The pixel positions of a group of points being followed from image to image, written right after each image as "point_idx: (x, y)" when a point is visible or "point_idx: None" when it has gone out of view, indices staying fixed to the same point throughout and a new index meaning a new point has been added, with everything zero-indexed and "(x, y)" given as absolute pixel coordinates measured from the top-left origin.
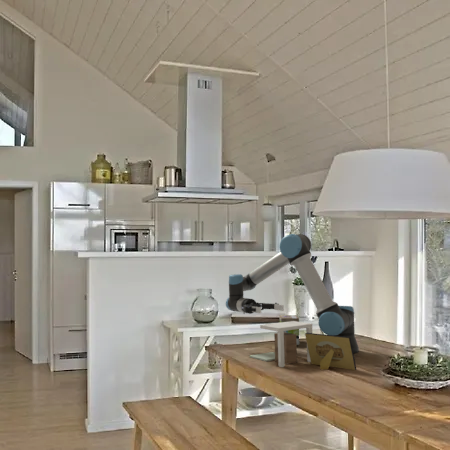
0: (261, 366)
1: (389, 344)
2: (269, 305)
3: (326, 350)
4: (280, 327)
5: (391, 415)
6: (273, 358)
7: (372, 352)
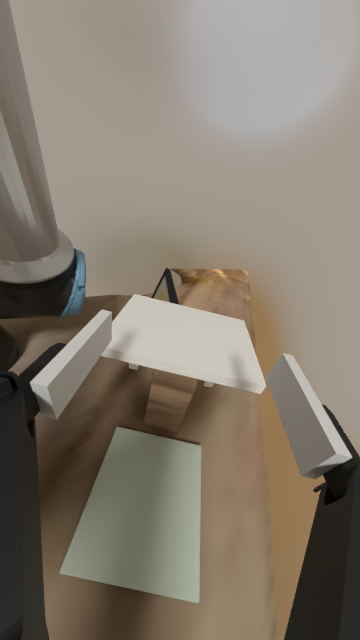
0: (240, 416)
1: None
2: (26, 472)
3: None
4: (233, 321)
5: (236, 279)
6: (174, 441)
7: None
